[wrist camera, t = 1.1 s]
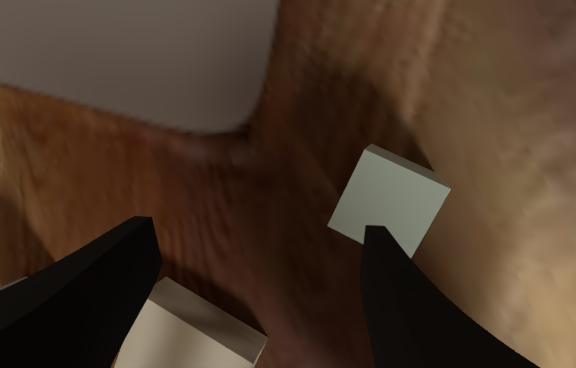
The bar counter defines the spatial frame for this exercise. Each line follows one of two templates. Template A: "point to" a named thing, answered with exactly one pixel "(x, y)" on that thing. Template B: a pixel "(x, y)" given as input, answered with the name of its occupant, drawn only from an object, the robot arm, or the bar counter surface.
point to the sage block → (389, 198)
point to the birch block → (187, 334)
